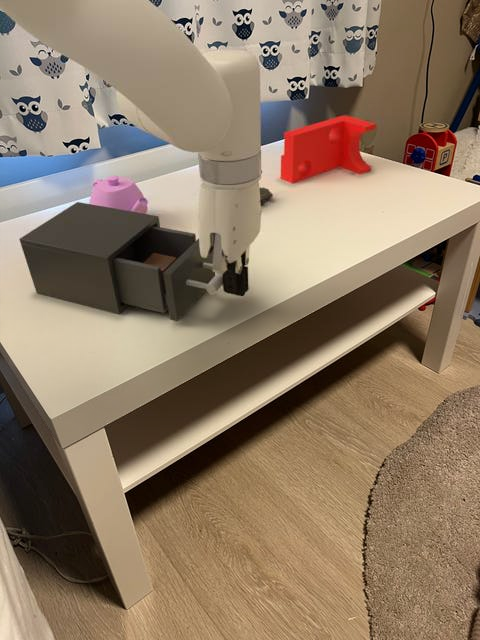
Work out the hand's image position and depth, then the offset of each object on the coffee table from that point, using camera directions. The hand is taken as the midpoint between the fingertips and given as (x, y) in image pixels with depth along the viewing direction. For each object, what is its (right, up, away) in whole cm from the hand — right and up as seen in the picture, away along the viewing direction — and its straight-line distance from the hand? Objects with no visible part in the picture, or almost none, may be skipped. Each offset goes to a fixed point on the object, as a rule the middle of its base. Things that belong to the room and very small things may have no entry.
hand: (236, 291), depth 74 cm
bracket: (+20, +28, +43) cm, 55 cm away
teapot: (-22, +14, +26) cm, 37 cm away
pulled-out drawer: (-10, 0, +5) cm, 12 cm away
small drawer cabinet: (-22, +2, +10) cm, 24 cm away
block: (-11, +1, +5) cm, 13 cm away
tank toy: (+1, +20, +33) cm, 38 cm away
